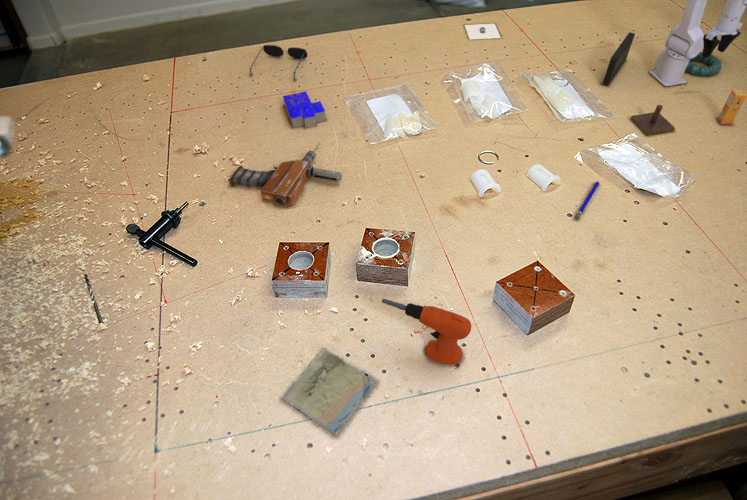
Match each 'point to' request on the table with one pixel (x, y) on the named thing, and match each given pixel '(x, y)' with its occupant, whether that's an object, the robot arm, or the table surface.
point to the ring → (702, 70)
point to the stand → (652, 122)
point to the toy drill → (439, 330)
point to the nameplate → (618, 58)
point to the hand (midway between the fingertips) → (712, 54)
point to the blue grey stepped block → (303, 110)
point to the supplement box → (732, 106)
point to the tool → (283, 179)
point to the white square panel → (482, 31)
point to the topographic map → (329, 391)
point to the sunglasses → (278, 52)
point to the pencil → (587, 200)
